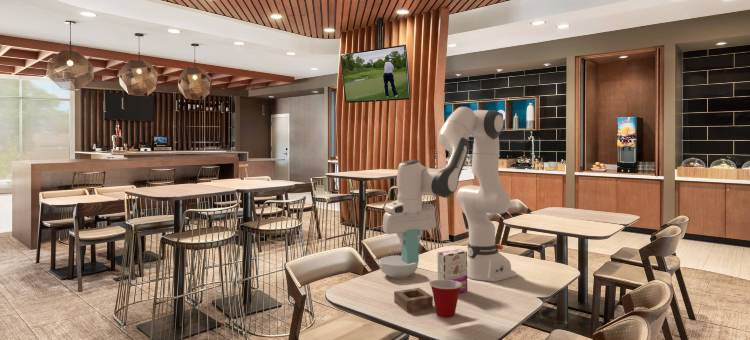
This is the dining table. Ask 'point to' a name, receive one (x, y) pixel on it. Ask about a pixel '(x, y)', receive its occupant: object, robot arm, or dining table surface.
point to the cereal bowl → (396, 267)
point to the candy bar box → (453, 267)
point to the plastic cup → (445, 296)
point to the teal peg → (410, 247)
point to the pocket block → (413, 299)
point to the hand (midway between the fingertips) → (409, 243)
